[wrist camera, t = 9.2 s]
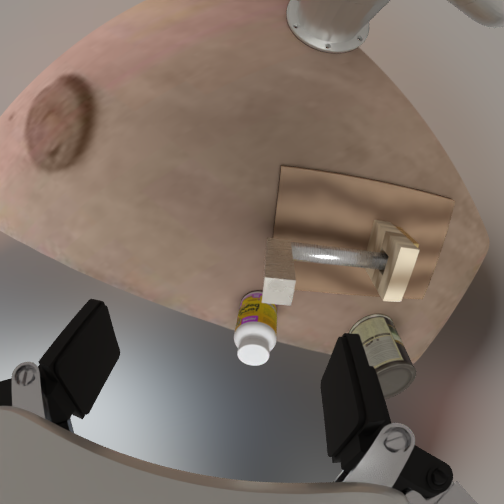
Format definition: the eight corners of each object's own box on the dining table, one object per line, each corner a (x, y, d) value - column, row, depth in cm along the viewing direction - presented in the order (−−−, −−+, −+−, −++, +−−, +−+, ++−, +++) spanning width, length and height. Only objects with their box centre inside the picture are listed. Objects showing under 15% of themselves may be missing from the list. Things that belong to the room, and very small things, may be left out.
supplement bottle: (262, 283, 47) (258, 332, 36) (283, 308, 49) (285, 359, 38) (232, 300, 50) (221, 350, 38) (254, 324, 52) (249, 374, 40)
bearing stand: (281, 165, 39) (284, 178, 28) (450, 198, 38) (491, 221, 27) (267, 282, 47) (264, 327, 36) (419, 295, 46) (445, 333, 36)
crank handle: (265, 254, 38) (261, 302, 27) (267, 234, 36) (264, 277, 26) (385, 267, 37) (415, 312, 27) (390, 249, 36) (424, 291, 26)
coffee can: (401, 317, 49) (426, 366, 36) (378, 352, 53) (395, 401, 41) (361, 309, 48) (382, 362, 36) (339, 346, 53) (351, 400, 40)
